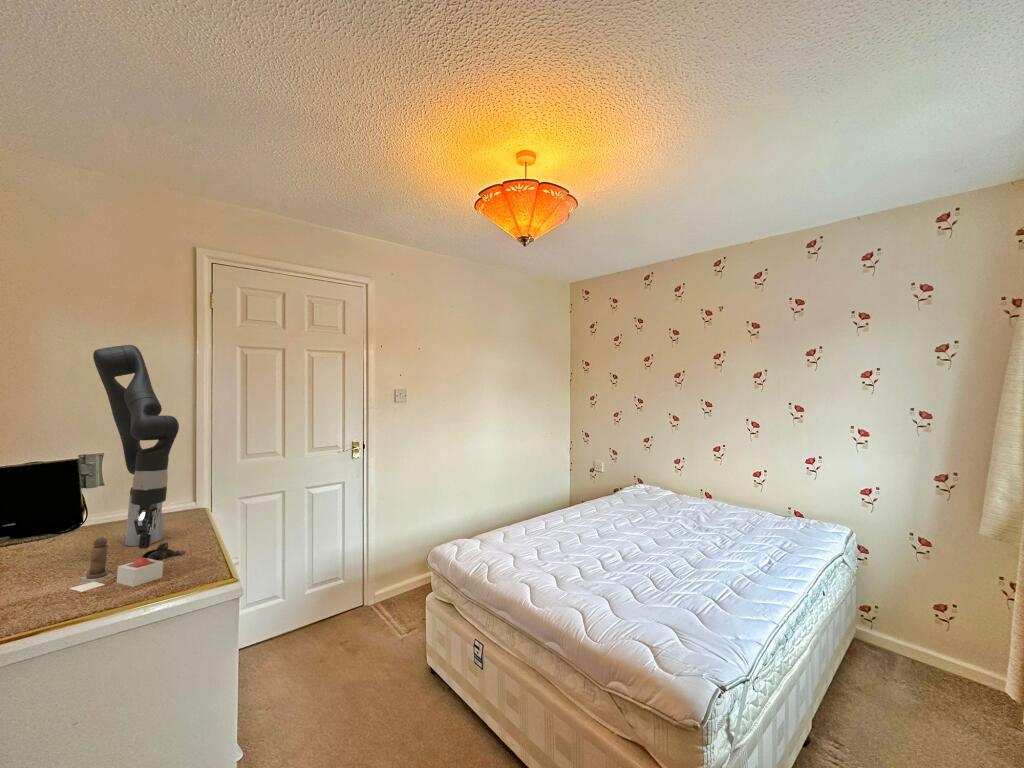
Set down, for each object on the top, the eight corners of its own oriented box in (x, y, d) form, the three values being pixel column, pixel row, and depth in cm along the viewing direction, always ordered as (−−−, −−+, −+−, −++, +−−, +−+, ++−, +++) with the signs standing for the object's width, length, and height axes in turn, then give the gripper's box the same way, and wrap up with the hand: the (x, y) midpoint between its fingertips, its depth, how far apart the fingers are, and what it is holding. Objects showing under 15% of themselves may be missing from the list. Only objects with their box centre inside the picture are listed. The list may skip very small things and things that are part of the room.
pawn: (101, 572, 121) (105, 534, 121) (111, 574, 119) (115, 536, 120) (82, 577, 116) (86, 538, 117) (91, 580, 115) (96, 540, 116)
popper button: (143, 574, 119) (145, 554, 119) (152, 576, 118) (154, 556, 118) (126, 579, 115) (128, 559, 116) (136, 581, 114) (138, 561, 114)
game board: (117, 570, 125) (118, 566, 125) (162, 581, 118) (163, 577, 119) (54, 588, 112) (54, 584, 112) (101, 601, 105) (101, 597, 105)
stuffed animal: (147, 569, 124) (138, 539, 130) (139, 592, 127) (131, 561, 133) (194, 558, 134) (184, 530, 140) (186, 579, 136) (176, 551, 142)
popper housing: (145, 574, 121) (147, 558, 121) (162, 577, 119) (163, 561, 119) (116, 583, 114) (118, 566, 115) (133, 587, 112) (134, 570, 112)
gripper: (141, 482, 123) (135, 542, 122) (124, 490, 111) (117, 557, 110) (173, 481, 126) (168, 539, 125) (159, 489, 114) (154, 553, 113)
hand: (144, 547), depth 117 cm, fingers closed
